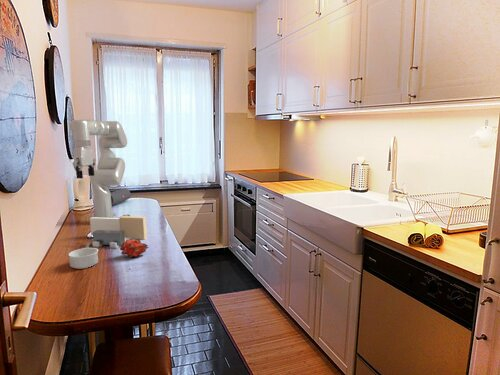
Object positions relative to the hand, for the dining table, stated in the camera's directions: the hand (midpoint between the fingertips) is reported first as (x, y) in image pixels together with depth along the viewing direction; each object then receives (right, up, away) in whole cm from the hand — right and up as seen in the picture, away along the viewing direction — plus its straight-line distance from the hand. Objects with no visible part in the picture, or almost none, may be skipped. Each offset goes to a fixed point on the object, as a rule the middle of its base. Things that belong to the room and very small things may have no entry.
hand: (85, 176), depth 195 cm
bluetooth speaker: (-11, -18, +78) cm, 81 cm away
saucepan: (+17, -37, -37) cm, 55 cm away
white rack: (+17, -32, -12) cm, 39 cm away
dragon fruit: (+36, -36, -32) cm, 60 cm away
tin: (+17, -30, +7) cm, 35 cm away
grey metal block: (+18, -33, -16) cm, 41 cm away
